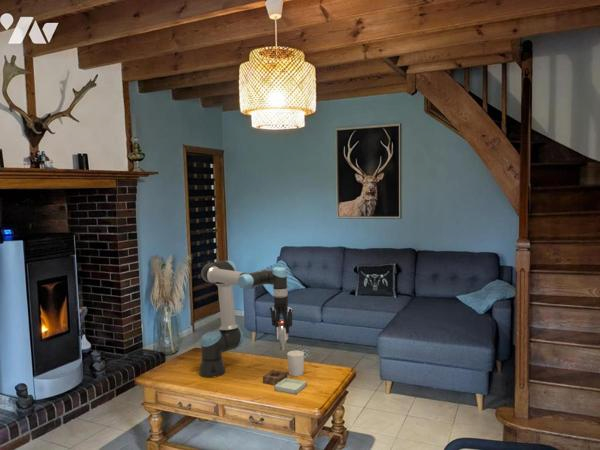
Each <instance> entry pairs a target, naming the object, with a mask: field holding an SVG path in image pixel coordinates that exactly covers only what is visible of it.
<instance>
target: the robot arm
mask: <svg viewBox="0 0 600 450" xmlns="http://www.w3.org/2000/svg"><path fill="white" fill-rule="evenodd" d="M237 267H238V266H237V265H236V264H235V262H233V261H232V260H222V261H221V260H220V261H214V262H209V263H207V264H205V265H204V266H203V267H202V268H201V272H200V274H201V278H202V279H203V280H204V281H205V282H206V283H211V284H215V286H217V289H218V300H219V301H218V302H219V313H220V325H221V326H220V327H219V328H218V330H219V331H218V330H213V331H207V332H205V333H203V335H202V336H201V339H200V347H201V364H200V368H199V370H198V371H199V373H200V374H199V376H200V375H202V376H201V377H203V376H207V377H206V378H214V377H213V376H217V377H219V376H218V375H220V376H223V375H224V374H225V373H226V366H225V363H224V361H223V354H222V353H225V352H228V351H232V350H235V349H237V348H240V347H241V345H242V344H243V342H244V333H243V332H242V331H243V330H241V328H239V325H237V323H236V314H235V301H234V291H233V286H234V285H235V286H239V287H240V288H241V289H250V288H254V287H258V286H259V287H260V286H264V285H272V288H273V304H274V305H273V306H271V307H269V311H270V317H271V326H273V327H274V328H275V329H274V330H275V333H276V339H277V340H279V329H278V323H277V321H279V320H281V316H282V318H283V319H282V320H284V323H285V328H284V337H285V340H286V341H287V340H289V333H290V328H291V327H293V311H294V308H293V307H290V306H289V305H288V304H289V299H288V298H289V296H288V295H289V294H288V292H289V291H288V277H287V276H288V273H287V268H286V267H283V266H276V267H273V268H272V270H271V269H270V270H269V269H260V270H259V271H255V272H245V271H238V268H237ZM222 374H223V375H222Z"/></svg>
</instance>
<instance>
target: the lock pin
mask: <svg viewBox="0 0 600 450" xmlns="http://www.w3.org/2000/svg"><path fill="white" fill-rule="evenodd" d="M277 323H278V329H279V339H278V345H279V351H287V349H288V345H287V340H285V337H284V328H285V323H284V319H280V320H279V321H277Z"/></svg>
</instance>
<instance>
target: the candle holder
mask: <svg viewBox="0 0 600 450" xmlns="http://www.w3.org/2000/svg"><path fill="white" fill-rule="evenodd" d="M286 355H287V366H288V374H289V376H291V377H300V376H302V375H304V366H305V365H304V362H305V352H304V351H301V350H290V351H288V352H287V354H286Z"/></svg>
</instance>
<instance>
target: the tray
mask: <svg viewBox="0 0 600 450" xmlns="http://www.w3.org/2000/svg"><path fill="white" fill-rule="evenodd" d="M306 387H307V381H304V380H299V379H294V378H289V377H288V378H285V379H283V380H282V381H280V382H279V383H278V384H276V385H273V388H274V389H273V390H274V391H275V392H279V393H285V394H288V395H289V394H290V395H293V396H296V395H298V394H299V393H300V392H301V391H302V390H304V389H305V388H306Z"/></svg>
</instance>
